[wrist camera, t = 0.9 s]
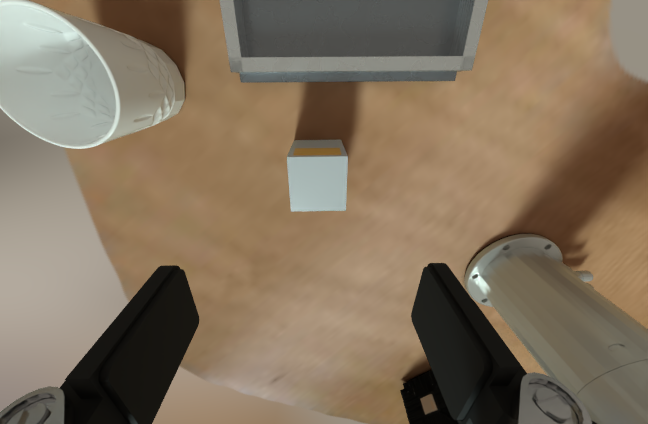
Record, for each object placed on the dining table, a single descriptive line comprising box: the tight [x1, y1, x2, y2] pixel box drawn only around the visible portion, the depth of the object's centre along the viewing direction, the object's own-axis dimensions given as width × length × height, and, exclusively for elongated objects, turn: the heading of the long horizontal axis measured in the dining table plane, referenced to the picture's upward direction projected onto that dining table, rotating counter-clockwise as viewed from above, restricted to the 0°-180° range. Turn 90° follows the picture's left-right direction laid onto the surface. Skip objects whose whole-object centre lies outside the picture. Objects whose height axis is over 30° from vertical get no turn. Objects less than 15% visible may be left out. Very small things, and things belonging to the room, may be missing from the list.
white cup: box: [0, 0, 185, 149], centre depth 19 cm, size 8×8×10 cm
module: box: [287, 140, 348, 211], centre depth 24 cm, size 5×5×7 cm
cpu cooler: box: [400, 370, 459, 424], centre depth 43 cm, size 10×6×10 cm, turn 132°
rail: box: [220, 0, 488, 82], centre depth 20 cm, size 20×10×4 cm, turn 90°
